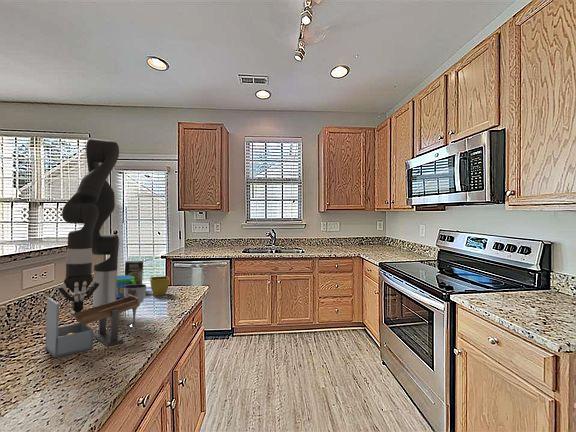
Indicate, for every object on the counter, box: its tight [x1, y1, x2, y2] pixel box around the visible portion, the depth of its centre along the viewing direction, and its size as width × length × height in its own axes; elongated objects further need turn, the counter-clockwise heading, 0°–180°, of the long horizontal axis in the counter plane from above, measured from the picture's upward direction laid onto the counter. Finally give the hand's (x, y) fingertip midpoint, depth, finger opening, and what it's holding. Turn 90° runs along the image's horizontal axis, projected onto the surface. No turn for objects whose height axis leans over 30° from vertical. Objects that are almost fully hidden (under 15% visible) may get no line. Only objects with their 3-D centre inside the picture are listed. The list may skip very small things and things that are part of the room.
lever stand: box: [93, 303, 125, 347], centre depth 115 cm, size 13×5×11 cm, turn 49°
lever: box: [69, 295, 141, 325], centre depth 117 cm, size 14×18×3 cm
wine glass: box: [123, 283, 147, 329], centre depth 130 cm, size 8×8×15 cm
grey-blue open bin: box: [44, 297, 94, 359], centre depth 106 cm, size 10×10×16 cm
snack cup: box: [116, 274, 136, 299], centre depth 170 cm, size 16×10×10 cm
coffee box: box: [124, 260, 144, 284], centre depth 184 cm, size 9×6×16 cm
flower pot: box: [149, 275, 170, 297], centre depth 177 cm, size 9×9×9 cm
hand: (77, 311), depth 115 cm, fingers closed
